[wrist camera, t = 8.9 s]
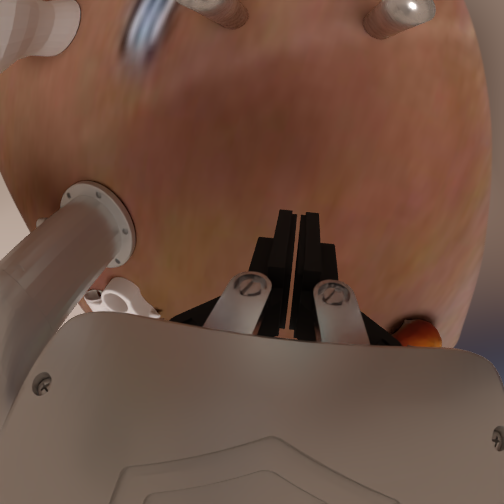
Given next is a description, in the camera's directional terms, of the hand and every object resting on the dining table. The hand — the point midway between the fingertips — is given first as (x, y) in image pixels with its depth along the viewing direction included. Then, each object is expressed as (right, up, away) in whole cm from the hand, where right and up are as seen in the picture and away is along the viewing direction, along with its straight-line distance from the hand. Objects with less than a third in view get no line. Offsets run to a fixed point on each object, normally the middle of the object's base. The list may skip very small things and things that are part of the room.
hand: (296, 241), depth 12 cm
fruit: (+20, -12, +22) cm, 32 cm away
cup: (-24, +26, +5) cm, 35 cm away
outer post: (+8, +18, +3) cm, 20 cm away
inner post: (-4, +19, +5) cm, 20 cm away
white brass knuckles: (-22, -11, +31) cm, 39 cm away
